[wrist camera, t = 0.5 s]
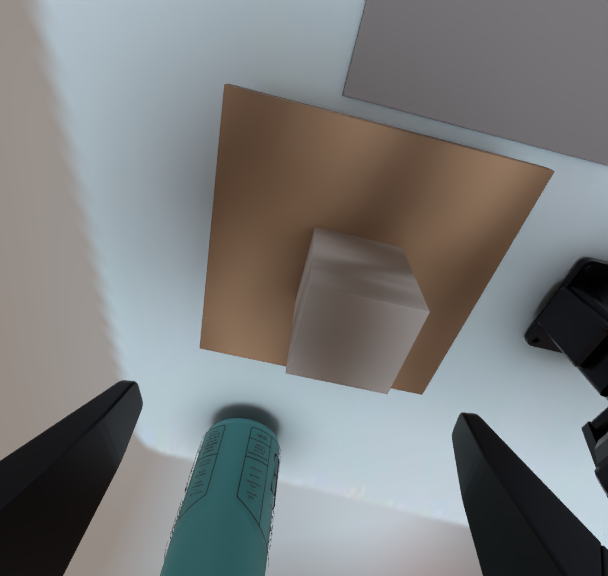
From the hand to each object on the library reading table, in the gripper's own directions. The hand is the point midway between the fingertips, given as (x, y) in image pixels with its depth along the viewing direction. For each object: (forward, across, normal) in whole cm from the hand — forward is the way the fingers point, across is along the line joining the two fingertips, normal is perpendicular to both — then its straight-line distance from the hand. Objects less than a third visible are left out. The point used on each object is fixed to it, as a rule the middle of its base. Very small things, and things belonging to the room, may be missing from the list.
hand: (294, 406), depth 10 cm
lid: (+9, -2, 0) cm, 9 cm away
